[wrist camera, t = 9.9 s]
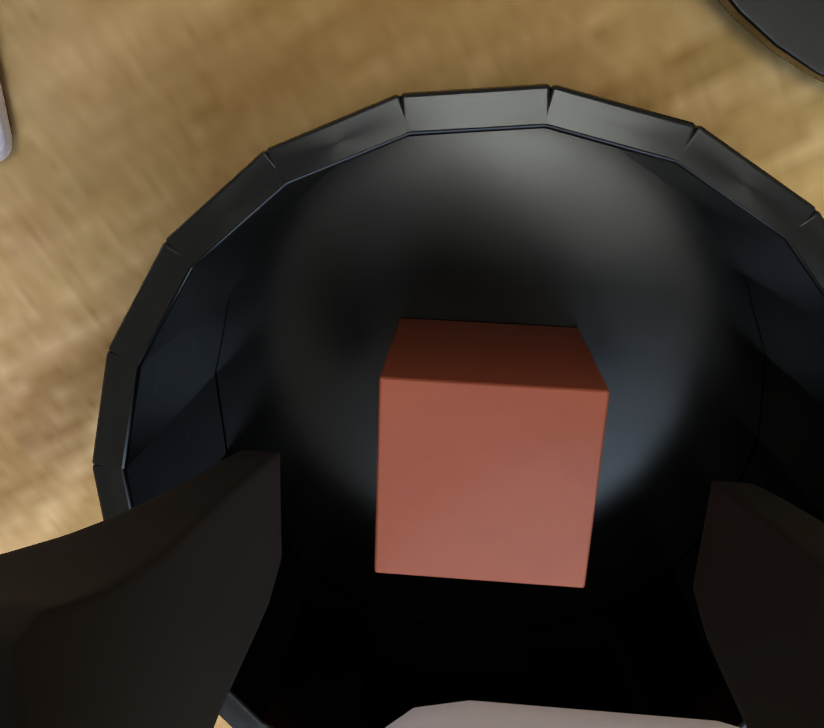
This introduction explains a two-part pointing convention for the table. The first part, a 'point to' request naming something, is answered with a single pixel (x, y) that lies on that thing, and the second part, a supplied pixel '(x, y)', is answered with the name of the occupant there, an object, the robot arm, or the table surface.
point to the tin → (487, 303)
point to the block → (488, 452)
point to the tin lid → (786, 29)
